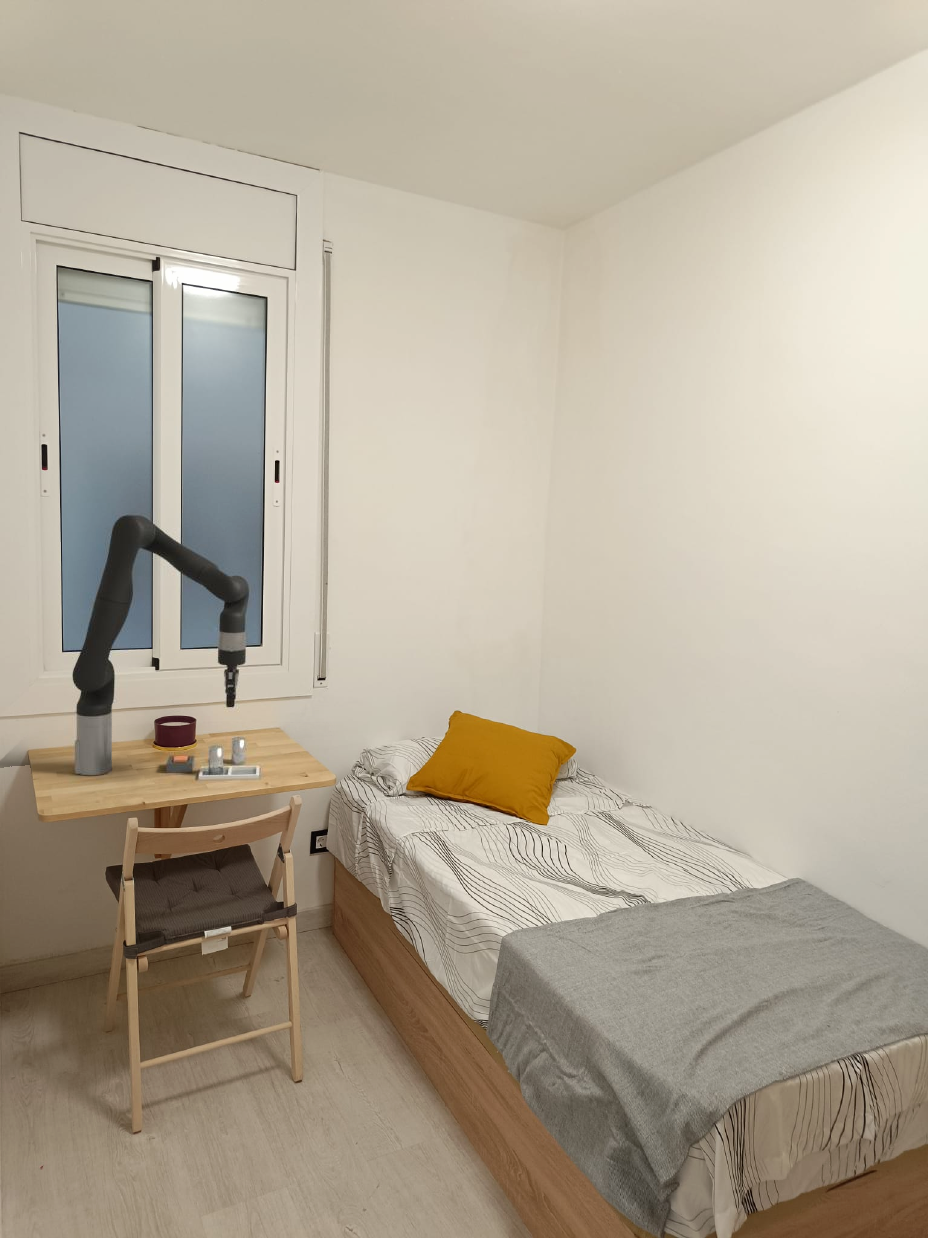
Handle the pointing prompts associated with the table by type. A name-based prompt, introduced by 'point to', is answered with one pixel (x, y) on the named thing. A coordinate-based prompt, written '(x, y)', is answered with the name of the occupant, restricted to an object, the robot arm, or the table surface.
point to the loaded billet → (215, 760)
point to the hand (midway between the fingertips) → (231, 703)
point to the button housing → (180, 765)
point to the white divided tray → (232, 773)
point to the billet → (238, 750)
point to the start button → (180, 759)
